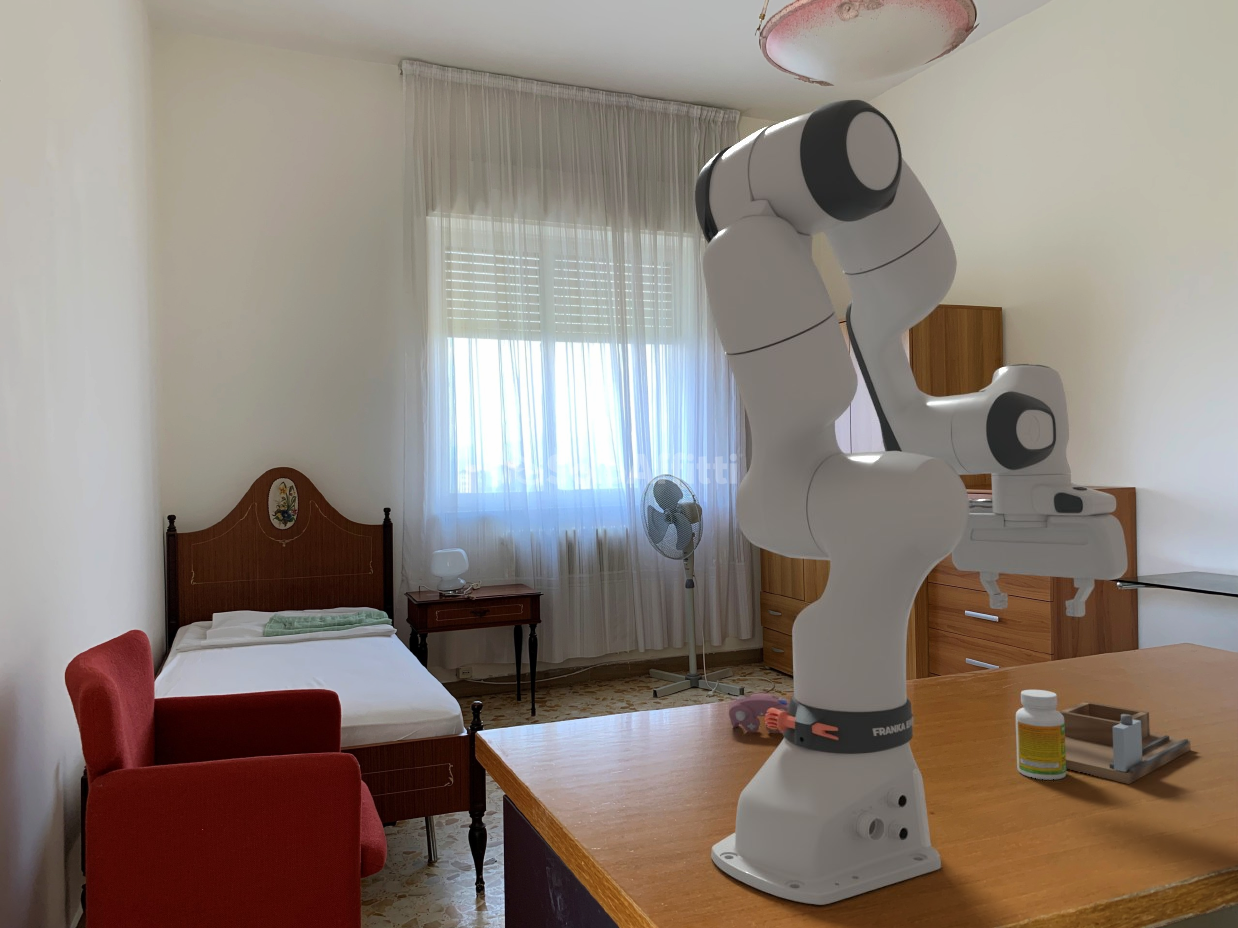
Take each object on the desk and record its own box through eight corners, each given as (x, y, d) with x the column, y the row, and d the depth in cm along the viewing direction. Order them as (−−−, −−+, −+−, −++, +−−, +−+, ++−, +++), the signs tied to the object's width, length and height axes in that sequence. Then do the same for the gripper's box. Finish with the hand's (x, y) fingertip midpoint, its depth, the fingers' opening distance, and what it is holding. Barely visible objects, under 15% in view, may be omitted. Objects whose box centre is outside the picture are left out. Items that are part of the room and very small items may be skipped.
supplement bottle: (1072, 781, 104) (1069, 698, 104) (1023, 779, 105) (1020, 697, 105) (1059, 767, 109) (1056, 688, 109) (1012, 765, 110) (1010, 687, 111)
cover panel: (1124, 771, 103) (1122, 720, 103) (1114, 769, 104) (1112, 718, 104) (1142, 762, 106) (1140, 712, 106) (1131, 760, 107) (1129, 710, 107)
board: (1131, 784, 102) (1130, 748, 103) (1019, 758, 113) (1018, 725, 113) (1193, 750, 114) (1191, 717, 114) (1086, 729, 125) (1085, 699, 125)
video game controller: (729, 742, 128) (725, 704, 126) (731, 720, 132) (728, 683, 130) (798, 745, 126) (796, 706, 123) (798, 723, 130) (796, 685, 127)
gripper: (939, 499, 114) (944, 606, 114) (1106, 499, 98) (1112, 624, 98) (966, 497, 118) (970, 601, 118) (1130, 497, 102) (1135, 617, 102)
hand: (1036, 611), depth 108 cm, fingers open, 8 cm apart
